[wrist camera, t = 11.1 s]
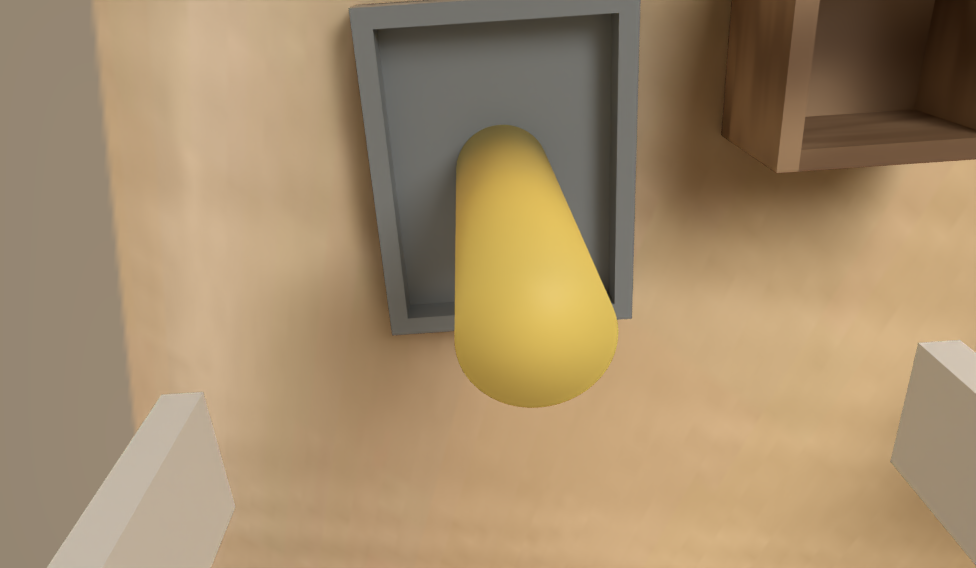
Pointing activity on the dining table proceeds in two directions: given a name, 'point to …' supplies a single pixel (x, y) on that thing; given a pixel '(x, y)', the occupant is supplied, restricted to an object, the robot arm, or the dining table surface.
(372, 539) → the dining table surface
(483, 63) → the tray
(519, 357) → the dowel
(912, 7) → the holder
